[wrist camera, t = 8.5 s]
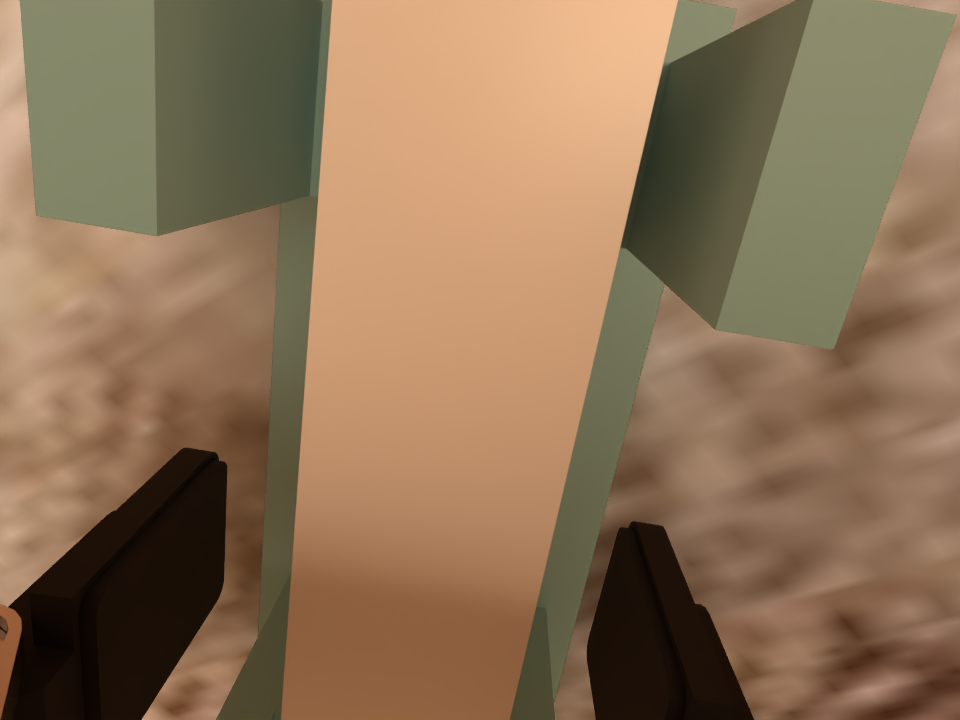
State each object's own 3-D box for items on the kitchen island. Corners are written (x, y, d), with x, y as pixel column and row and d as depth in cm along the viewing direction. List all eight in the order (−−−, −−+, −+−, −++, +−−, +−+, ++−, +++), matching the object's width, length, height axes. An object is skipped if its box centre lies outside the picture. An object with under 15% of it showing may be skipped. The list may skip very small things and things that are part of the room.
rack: (722, 17, 15) (1201, -267, 5) (545, 706, 22) (576, 1199, 12) (308, -55, 15) (-155, -506, 5) (266, 661, 22) (51, 1118, 12)
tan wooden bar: (711, -187, 9) (912, -515, 5) (463, 891, 18) (447, 1163, 13) (384, -245, 9) (257, -634, 5) (288, 863, 18) (208, 1127, 13)
